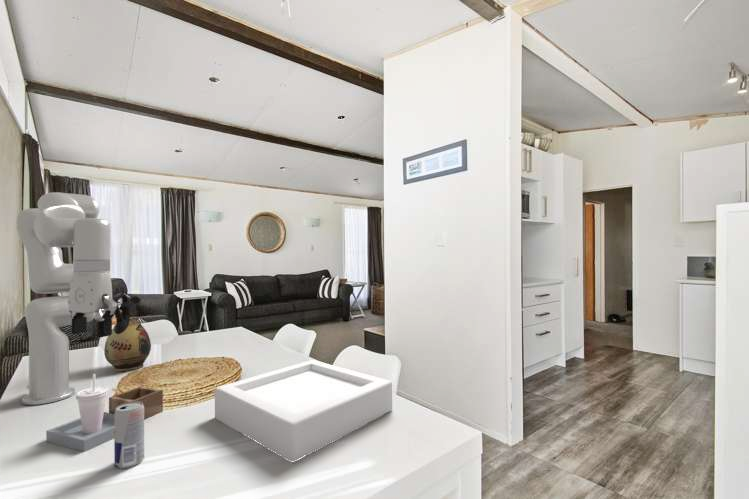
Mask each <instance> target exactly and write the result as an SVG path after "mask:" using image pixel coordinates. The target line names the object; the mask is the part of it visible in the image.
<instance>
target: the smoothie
mask: <svg viewBox="0 0 749 499" xmlns="http://www.w3.org/2000/svg"><path fill="white" fill-rule="evenodd" d="M96 376H97V375H96V373H93V374H92V387H90V388H85V389H82V390H80V391H78V392H76V394H75V400H77V403H78V409H79V415H80V417H79V418H81V423H82V429H83V433H85V434H89V433H94V432H97V431H99V430H100V429H101V428H102V421H103V414H104V412H105V406H106V401H107V395H108V393H109V388H108V387H106V386H96V385H97V384H96V383H97V382H96V381H97V380H96Z"/></svg>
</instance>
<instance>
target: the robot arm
mask: <svg viewBox="0 0 749 499" xmlns="http://www.w3.org/2000/svg"><path fill="white" fill-rule="evenodd" d="M99 212H100V207H99V204H98V201H97V200H96V199H95V197H93V196H90V195H88V194H80V193H79V194H77V193H66V192H57V191H56V192H55V191H53V192H47V193H44V194H43V195H41V197H39V198H38V201H37V208H26V209H22V210H20V211H19V212H18V213H17V215H16V222H15V223H16V229H17V234H18V236H19V238H20V240H21V243H22V244H23V246H24V248H25V251H26V253H27V268H28V280H29V282H28V283H29V287H30V289H31V291H32V292H33V293H35V294H45V295H46V294H60V293H61V294H64V293H68V295H60V296H58V295H57V296H46V297H39V298H36V299H33V300H31V301H30V302H28V303H27V305H26V306H25V308H24V314H25V317H24V318H25V322H26V327H27V331H28V332H27V333H28V384H27V386H26V389H27V390H28V394H26V395H25V396H24V397H23V398H22V399H21V403H22V404H23V405H25V406H27V405H28V406H36V405H37V406H38V405H45V404H50V403H55V402H58V401H62V400H64V399H67V398H69V397H72V396H73V395H74V394H75V393H76V388H75V387H72V386H70V339H69V336H67V334H66V333H65V332H64V331H61V329H60V327H65V326H70V325H71V334H72V335H77V334H82V333H83V334H84V333H86V332H87V330H88V328H87V327H88V326H87V323H90V322H91V321H94V319H95V317H97V319H98V320H97V321H96V322H97V323H96V337H97V338H100V339H101V338H104V337H108V336H110V335H112V329H113V320H114V318H115V310H116V308H117V303H116V302H115V301H114V300H113V299H112V297H113V286H112V284H113V283H112V276H111V274H110V273H111V224H110V221H108V220H107V219H103V218H98V217H99ZM61 248H73V250H72V251H73V252H72V258H73V260H72V263H64V261H63V260H64V259H63V250H62V249H61Z"/></svg>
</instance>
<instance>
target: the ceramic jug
mask: <svg viewBox="0 0 749 499" xmlns="http://www.w3.org/2000/svg"><path fill="white" fill-rule="evenodd" d="M112 299H113V300H114V301H115V302H116V303H117V308H116V310H115V314H114V318H115V319H116V323H115V325H114V326H112V335H110V336H107V337H106V340H105V344H104V349H103V350H104V351H103V353H104V357H105V359H106V361H107V362H108V363H109V364H110V365H111V366H112V367H114V371H115V372H123V371H132V370H137V369H141V368H143V367H142V366H144V363H145V361H146V360H147V358H148V357H149V356H150V354H151V350H152V343H151V339H150V336H149V333H148V331H147V330H146V329H145V327H144V326H143V325H142V323H140V321H139V320H138V319H137V318H136V317H135V315H133V312H132V309H133V308H134V307H135V306H137V305H138V304H140V303H141V298H140V297H138V296H137V295H133V296H131V297H130V296H128V295H127V294H125V293H116V294H114V295H112ZM120 300H121V301H122V302H121V304H120V306H119V304H118V303H119V301H120ZM140 367H141V368H140Z"/></svg>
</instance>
